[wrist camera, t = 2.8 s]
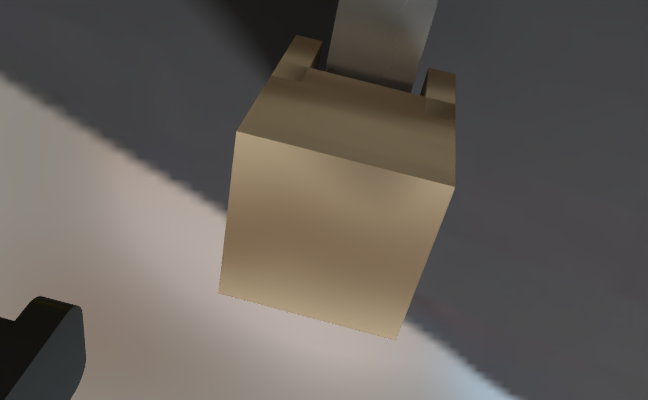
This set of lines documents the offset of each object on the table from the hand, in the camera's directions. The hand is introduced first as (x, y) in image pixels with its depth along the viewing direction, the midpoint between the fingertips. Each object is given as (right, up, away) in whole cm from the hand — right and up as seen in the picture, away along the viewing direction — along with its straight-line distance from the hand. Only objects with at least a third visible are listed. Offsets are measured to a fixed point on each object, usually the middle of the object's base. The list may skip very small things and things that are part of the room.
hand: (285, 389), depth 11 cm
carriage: (+2, +6, +8) cm, 10 cm away
